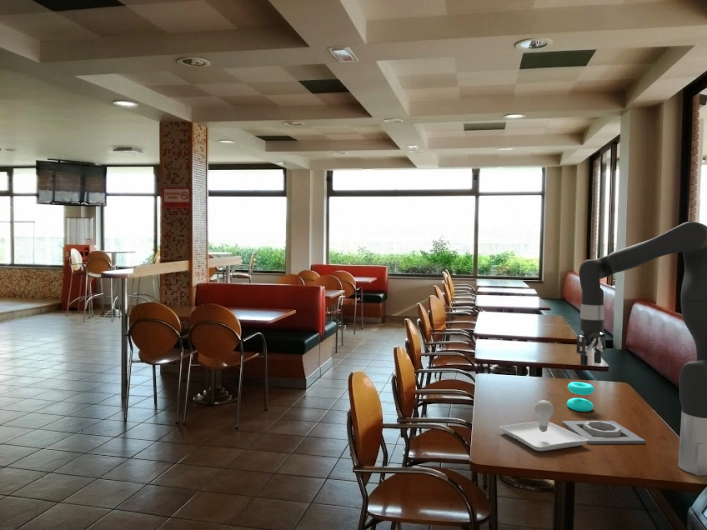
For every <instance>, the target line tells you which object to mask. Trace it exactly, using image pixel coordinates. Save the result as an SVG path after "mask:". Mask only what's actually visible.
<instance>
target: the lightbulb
mask: <svg viewBox="0 0 707 530" xmlns="http://www.w3.org/2000/svg"><path fill="white" fill-rule="evenodd" d="M534 411H535V414H536V417H537V420H538V421H539V430H540V431H542V432H545V431H547V427H548V423H549V422H550V419H551V418H552V416H553V414H554V406H553V404H552V403H551V402H550V401H548V400H546V399H545V400H544V399H540V400H538V401H537V402H536V404H535V405H534Z"/></svg>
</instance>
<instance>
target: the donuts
mask: <svg viewBox="0 0 707 530" xmlns="http://www.w3.org/2000/svg"><path fill="white" fill-rule="evenodd" d="M567 389H568V390H569V392H571V393H573V394H575V395H581V396H588V395H591V394H593V393H594V391H595V387H594V386H593V384H591V383H587V382H582V381H570V382H569V383H568V385H567ZM566 405H567V407H568V408H569V409H570V410H572V411H577V412H590V411H592V410H593V409H594V403H592V401H590V400H589V399H586V398H582V397H573V398H569V399H568V400H567V402H566Z"/></svg>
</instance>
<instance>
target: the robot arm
mask: <svg viewBox="0 0 707 530" xmlns="http://www.w3.org/2000/svg"><path fill="white" fill-rule="evenodd" d="M675 253H682V256H683V262H684V263H683V264H684V273H683V279H682V283H681V290H680V309H681V317H682V320H683V322H684V324H685V326H686V328H687V329H688V331H689V333H690V335H691V336H692V339H693V341H694V344H695V351H696V360H693V361H689V362H685V363H684V364H683V365H682V367H681V368H680V371H679V379H678V384H679V385H678V395H679V396H678V397H679V402H680V404H681V413H680V414H681V415H680V416H681V418H680V432H679V448H678V449H679V451H678V453H679V454H678V467H679V469H681V470H683V471H684V472H687V473H690V474H693V475H695V476H707V225H705V224H703V223H701V222H697V221H686V222H682V223H681V224H679V225H677V226H676V227H673V228H672V229H670V230H668V231H666V232H663V233H662V234H660V235H658V236H655V237H653V238H651V239H648V240H645V241H642V242H639V243H636V244H633V245H630V246H626V247H624V248H621V249H618V250H616V251H613V252H611V253H608V255H605V256H603V257H600V258H599V257H598V258H594V259H586V260H584V261H583V262H581V264H580V266H579V269H578V277H579V284H580V288H581V303H580V304H581V306H580V313H579V314H580V317H579V318H580V319H579V321H580V322H579V323H580V324H579V330H580V331H581V332H583V334H582V335H577V337H576V353H577V354H579V355H580V366H581V367H588V366H589V365H588V364H589V361H588V360H589V356H588V355H589V352H590V351H591V350H592V349H593V350H594V355H593V361H594V363H595V364H601V363H602V353H603V352H604V351H606V349H607V348H606V345H607V343H606V342H607V340H606V333H604V330H605V307H604V305H605V304H604V302H605V301H604V299H605V297H604V296H605V295H604V290H603V288H601V279H605V278H608V277H611V276H613V275H615V274H617V273H621V272H626V271H628V270H631V269H634V268H637V267H640V266H642V265H645V264H647V263H649V262H651V261H653V260H655V259H658V258H660V257H661V258H662V257H663V256H667V255H671V254H675Z"/></svg>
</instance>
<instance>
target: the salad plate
mask: <svg viewBox="0 0 707 530" xmlns="http://www.w3.org/2000/svg"><path fill="white" fill-rule="evenodd" d="M499 428H500V430H501V431H502V433H504V434H506V435H507V436H509V437H511V438H513V439H515V440H516V439H517V440H516V441H519V442H520V443H522V444H523V445H526V446H527V447H528V448H531V449H533V450H535V451H536V452H537V451H538V452H544V451H553V450H560V449H567V448H573V447H579V446H582V445H585V444H587V441H588V439H586V438H584V437H582V436H580V435H577V434H575V433H574V432H572V431H571V430H570V429H568V428H567V429H566V428H564V427H562V426H560V425H558V424H555V423H553V422H551V421H549V423H548V427H547V431H545V432H542V431H540V430H539V420H538V421H528V422H521V423H513V424H507V425H500V426H499Z"/></svg>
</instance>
